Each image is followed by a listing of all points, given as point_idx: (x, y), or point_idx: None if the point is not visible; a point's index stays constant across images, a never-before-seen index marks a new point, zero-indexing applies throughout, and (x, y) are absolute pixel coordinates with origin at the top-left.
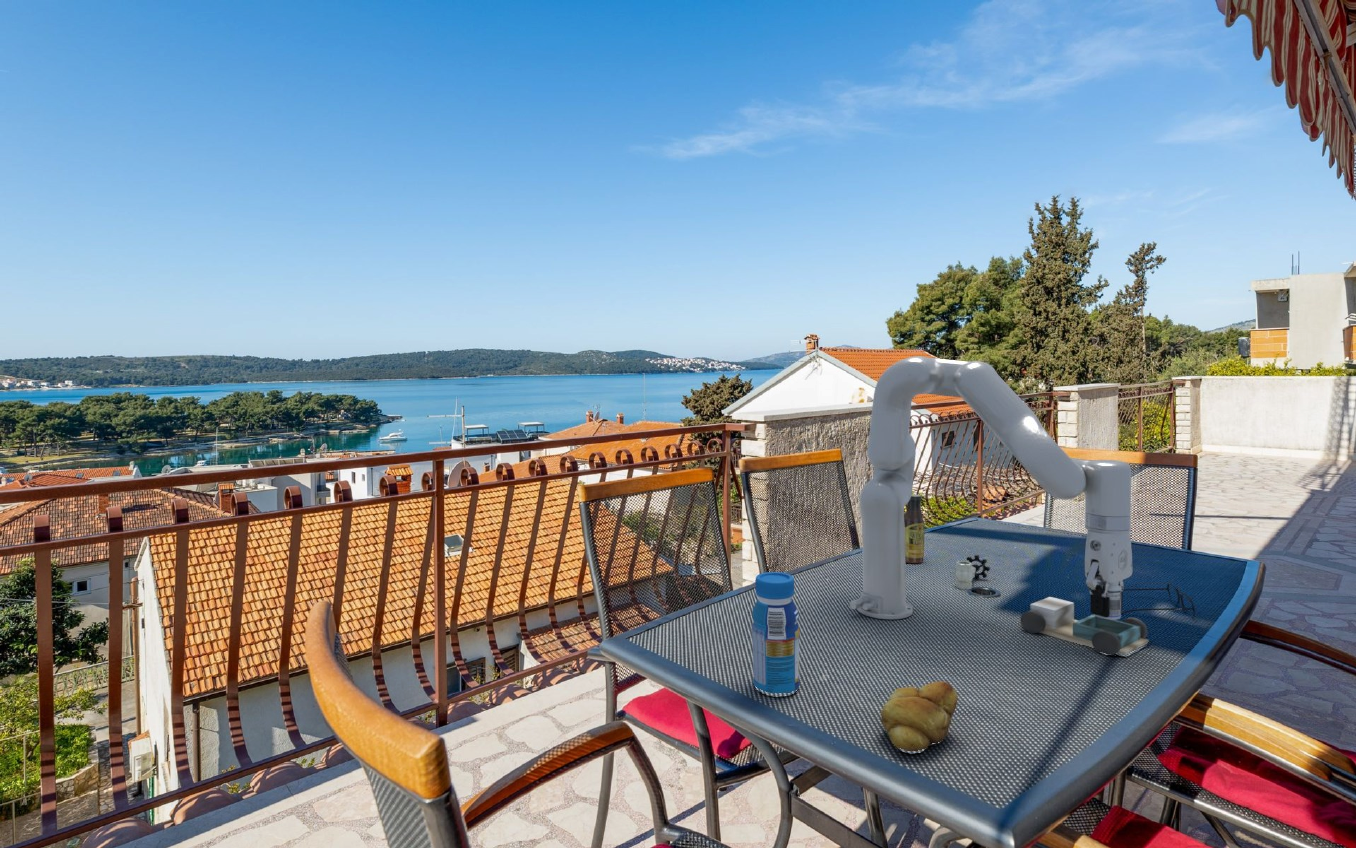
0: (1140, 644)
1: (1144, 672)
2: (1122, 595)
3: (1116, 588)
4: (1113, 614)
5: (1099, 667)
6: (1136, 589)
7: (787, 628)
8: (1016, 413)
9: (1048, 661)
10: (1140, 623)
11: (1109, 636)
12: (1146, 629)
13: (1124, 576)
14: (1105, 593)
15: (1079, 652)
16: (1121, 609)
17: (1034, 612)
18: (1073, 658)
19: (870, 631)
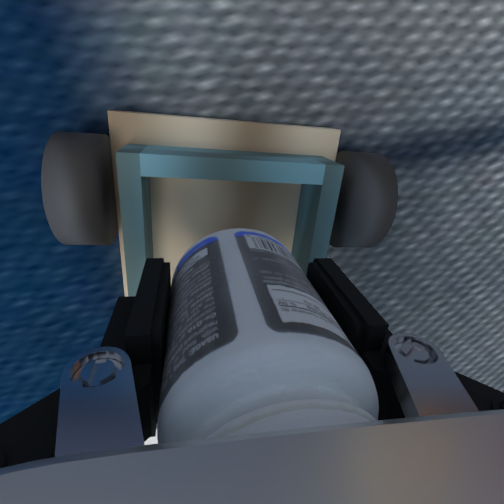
0: (199, 118)
1: (423, 28)
2: (135, 314)
3: (334, 362)
4: (287, 252)
5: (459, 160)
6: None
7: None
8: None
9: (485, 268)
10: (80, 164)
11: (393, 192)
12: (65, 135)
13: (292, 482)
14: (424, 361)
15: (369, 247)
16: (160, 260)
17: None
18: (428, 238)
19: None
